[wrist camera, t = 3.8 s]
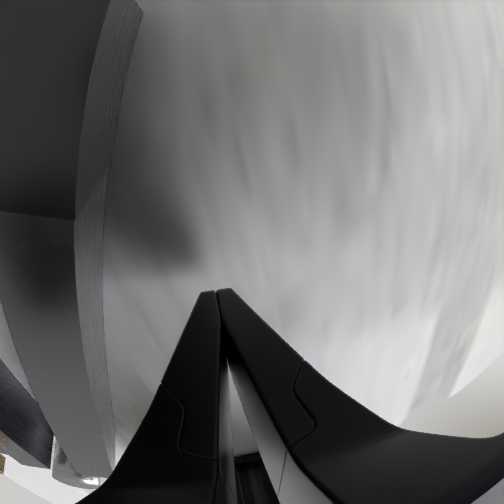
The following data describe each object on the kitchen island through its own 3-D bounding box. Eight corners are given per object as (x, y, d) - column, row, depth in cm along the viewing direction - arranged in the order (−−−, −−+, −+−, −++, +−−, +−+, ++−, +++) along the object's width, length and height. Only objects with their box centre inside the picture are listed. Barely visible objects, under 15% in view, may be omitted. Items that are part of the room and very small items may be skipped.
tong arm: (143, 12, 5) (118, -24, 3) (120, 451, 15) (121, 494, 13) (6, 14, 4) (-64, 5, 2) (61, 443, 14) (58, 485, 12)
